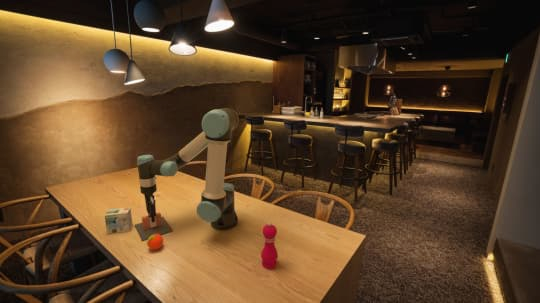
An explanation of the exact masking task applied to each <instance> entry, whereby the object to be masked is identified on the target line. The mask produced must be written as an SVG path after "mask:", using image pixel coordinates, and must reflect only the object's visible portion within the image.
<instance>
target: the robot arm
mask: <svg viewBox="0 0 540 303" xmlns="http://www.w3.org/2000/svg"><path fill="white" fill-rule="evenodd" d="M239 121H240V120H239V115H238V113H237V112H236V111H235V110H234V109H232V108H229V107H223V108H218V109H217V108H215V109H212V110H210V111H208V112H207V113H205V114H204V115H203V117H202V120H201V129H202V131H201V133H199V134H198V135H197V136H196V137H195V138H194V139H192V140H191V141H190V142H188V143H187V144H185V146H184V147H183V148H181V149H180V150H179V151H178V152H177V153H175V154H174V155H172V156H170V157H169V158H166V159H164V160H158V159H157V160H156V159H155V158H154V156H153V155H152V154H144V155H139V156H137V159H136V160H137V161H136V163H137V165H136V166H137V171H138V181H139V186H140V187H139V188H140V189H139V190H140V194H142V195H143V196H144V201H145V208H146V212H147V216H148V215H150V216H148V217H149V218H150V227H151V228H153V227H156V218H155V216H156V213H157V207H156V199H155V195H154V193H156V192H157V190H158V189H157V179H158V178H157V176H159V177H160V176H161V177H168V178H169V177H174V176H176V174H177V173H178V170H180V169H181V168H184V167H185V166H187V165H188V164H189V162H190V161H191V160H193V159H194V158H196V157H197V156H199V154H200V153H202V152H203V151H204V150H205V149H207V154H206V156H207V157H206V168H205V169H206V170H205V185H204V189H203V190H202V191H201V195H200V196H201V197H200V202H199V203H198V205H197V206H196V213H197V215H198V217H199V218H200V219H201V220H202V221H204V222H206V223H210V226H211V227H212V228H213V229H215V230H218V231H226V230H230V229H233V228H235V227H236V226H238V223H239V219H238V218H239V217H238V215H237V213H236V212H237V211H236V210H235V187H234V184H232V183H228V182H225V174H226V173H225V172H226V160H227V152H228V143H230V142H231V141H232V132H234V131H235V129H236V128H237V127H238V125H239Z"/></svg>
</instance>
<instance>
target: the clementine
mask: <svg viewBox="0 0 540 303" xmlns="http://www.w3.org/2000/svg"><path fill="white" fill-rule="evenodd" d="M163 243H164V238H163V236H162V235H160V234H153V235H151V236H150V237H149V238H148V239H147V240H146V243H145V245H147V247H148V248H149V249H151V250H154V251H155V250H159V249H160V248H161V247H162V246H163V245H164V244H163Z"/></svg>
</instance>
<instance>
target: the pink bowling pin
mask: <svg viewBox="0 0 540 303" xmlns="http://www.w3.org/2000/svg"><path fill="white" fill-rule="evenodd" d="M262 234H263V240H264V241H263V242H264V246H263V248H262V250H261V252H260V258H261V265H262V267H263V268H264V269H266V270H271V269H274V268H275V267H277V263H278V262H277V259H278V257H279V254H278V251H277V248H276V245H275V242H276V240H277V239H276V235H277V234H278V229H277V227H276V226H275V225H273V223H272V222H271V221H269V222H267V224H266V225H264V227H263V228H262Z"/></svg>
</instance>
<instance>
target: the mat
mask: <svg viewBox="0 0 540 303" xmlns="http://www.w3.org/2000/svg"><path fill="white" fill-rule="evenodd" d="M161 220H162V225H160V226H157V227H153V228H150V229H146V230H144V229H143V224H142V222H139V223H135V224H133V225H134V228H135V229H136V232H137V235H138V236H139V238H140V241H141V242H143V241H147V240H148V238H149V237H150V236H151V235H153V234H160V235H161V236H162V235H165V234H168V233H172V232H174V230H173V228H172V227H171V225H170V223H169V222H167V220H166V219H165V217H164V216H161Z"/></svg>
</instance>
